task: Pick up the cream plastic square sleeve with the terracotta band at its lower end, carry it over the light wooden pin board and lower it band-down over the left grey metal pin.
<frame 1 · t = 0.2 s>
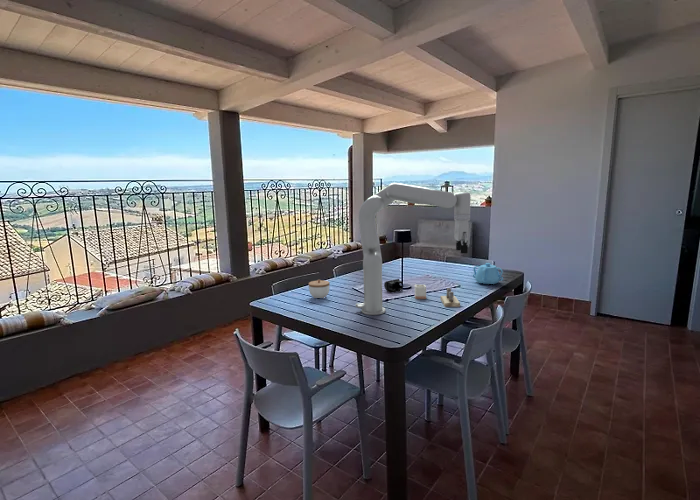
hand: (461, 251, 183), 31 cm above the table, tool pointing down, fingers open, 9 cm apart
decorative pot: (487, 283, 243), on the table
end cap: (393, 291, 231), on the table
lidded bowl: (319, 297, 220), on the table
sleeve: (420, 297, 214), on the table
pin board: (449, 302, 202), on the table
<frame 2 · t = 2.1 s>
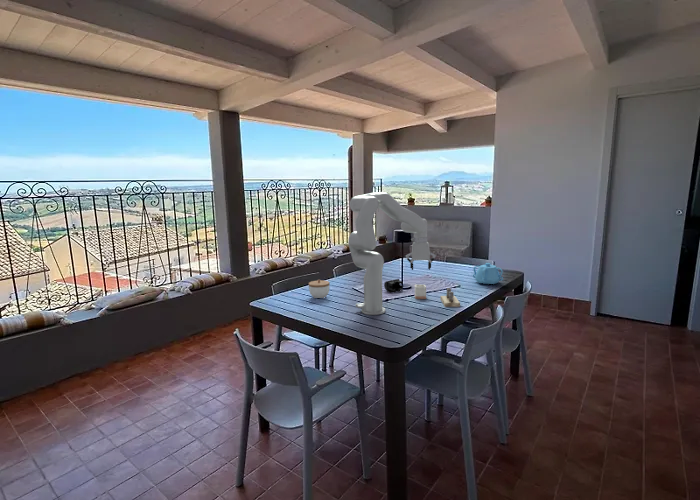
hand: (420, 269, 212), 17 cm above the table, tool pointing down, fingers open, 9 cm apart
nothing on the table moved.
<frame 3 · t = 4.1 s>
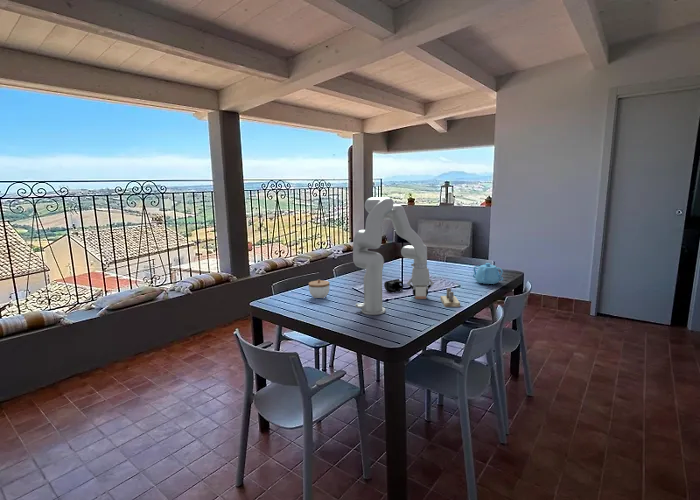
hand: (420, 295, 214), 1 cm above the table, tool pointing down, fingers closed on sleeve, 6 cm apart
sleeve: (420, 297, 214), on the table, touching gripper
everything else where it was.
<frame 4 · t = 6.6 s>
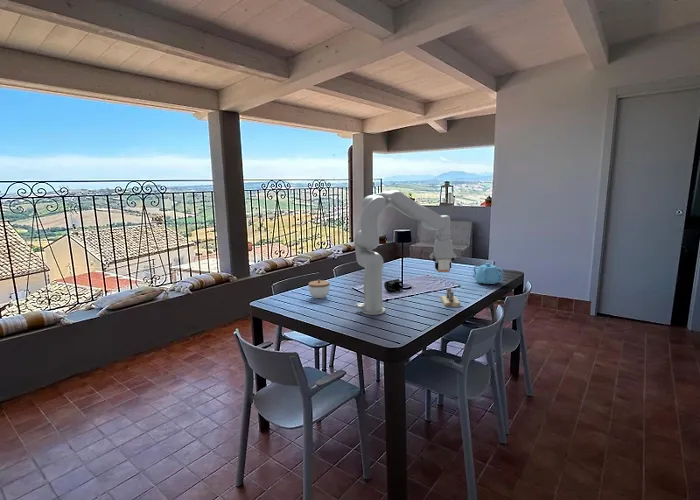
hand: (443, 269, 205), 18 cm above the table, tool pointing down, fingers closed on sleeve, 6 cm apart
sleeve: (443, 271, 205), point 17 cm above the table, touching gripper
everything else where it was.
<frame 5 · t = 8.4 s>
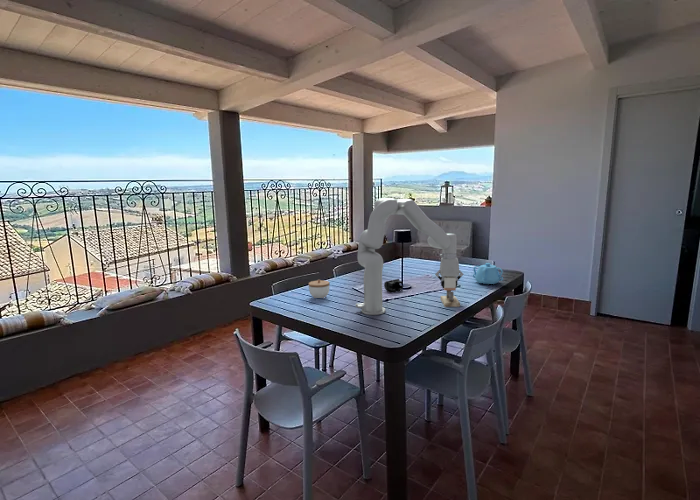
hand: (449, 287, 204), 8 cm above the table, tool pointing down, fingers closed on sleeve, 6 cm apart
sleeve: (449, 289, 205), point 7 cm above the table, touching gripper
everything else where it was.
when the fingers open (5 cm above the table, at t = 9.5 s): sleeve drops 2 cm, resting on pin board.
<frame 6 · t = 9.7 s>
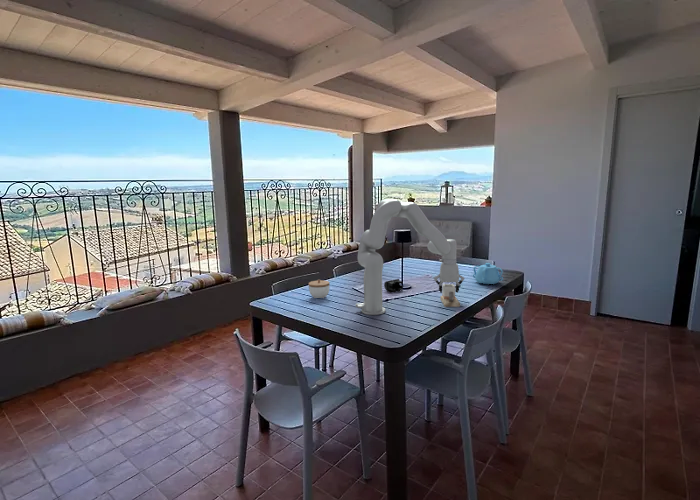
hand: (448, 292, 205), 5 cm above the table, tool pointing down, fingers open, 8 cm apart
sleeve: (448, 297, 205), point 2 cm above the table, touching pin board
everything else where it was.
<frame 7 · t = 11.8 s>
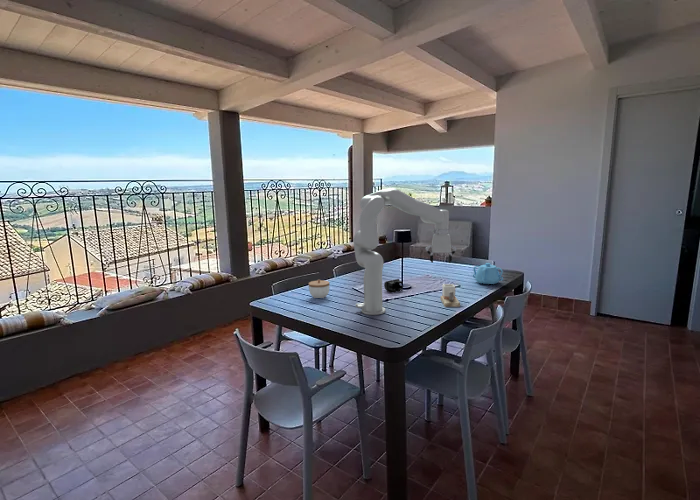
hand: (440, 262, 205), 22 cm above the table, tool pointing down, fingers open, 9 cm apart
nothing on the table moved.
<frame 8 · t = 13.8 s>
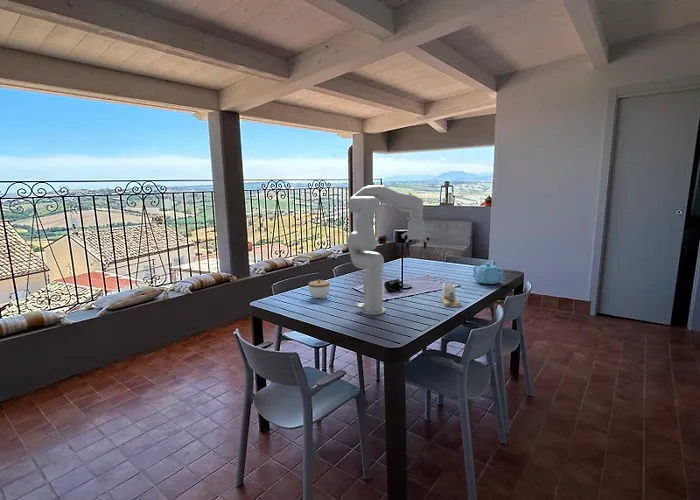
hand: (416, 248, 214), 28 cm above the table, tool pointing down, fingers open, 9 cm apart
nothing on the table moved.
at the end: sleeve 0.0 cm from the target spot on the pin board, point 2.0 cm above the pin board's base; sleeve tilted 0°; the gripper is holding nothing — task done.
